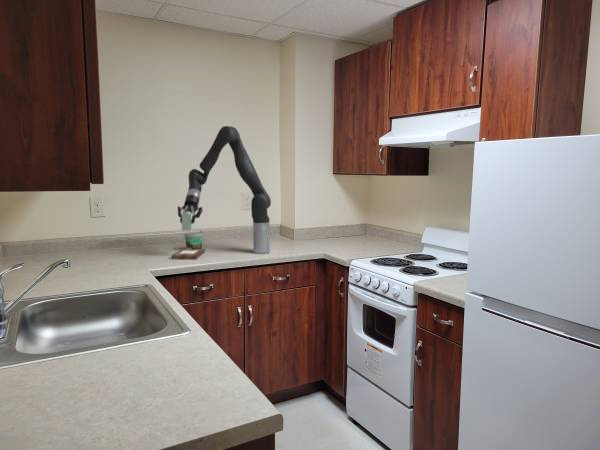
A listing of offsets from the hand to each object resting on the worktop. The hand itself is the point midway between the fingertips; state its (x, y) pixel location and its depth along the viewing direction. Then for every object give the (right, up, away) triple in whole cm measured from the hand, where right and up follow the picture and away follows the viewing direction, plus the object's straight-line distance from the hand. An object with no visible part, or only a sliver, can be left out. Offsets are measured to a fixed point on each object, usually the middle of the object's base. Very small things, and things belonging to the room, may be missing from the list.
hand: (186, 222), depth 242 cm
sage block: (0, -4, +2) cm, 5 cm away
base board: (0, -18, +4) cm, 19 cm away
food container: (0, -16, +22) cm, 27 cm away
